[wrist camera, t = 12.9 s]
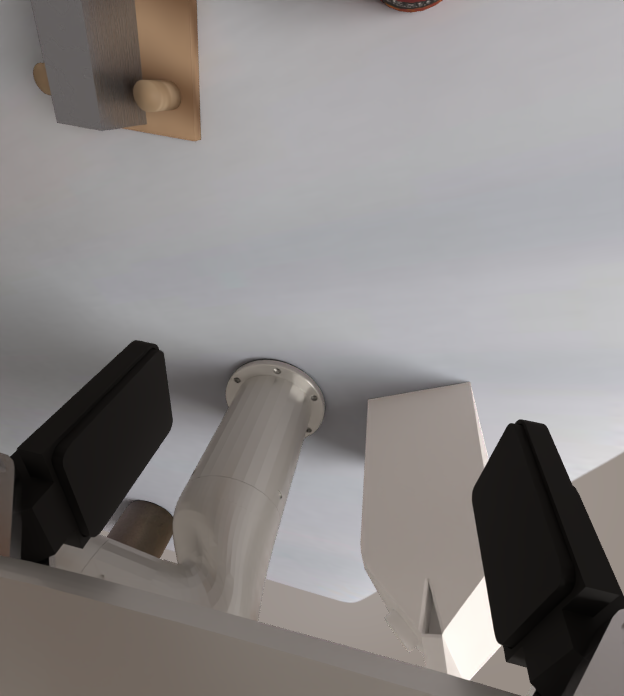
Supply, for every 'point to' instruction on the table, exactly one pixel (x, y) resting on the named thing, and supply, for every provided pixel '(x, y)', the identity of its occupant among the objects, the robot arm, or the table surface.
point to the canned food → (411, 4)
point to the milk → (428, 525)
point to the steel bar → (91, 61)
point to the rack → (163, 68)
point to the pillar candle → (144, 528)
